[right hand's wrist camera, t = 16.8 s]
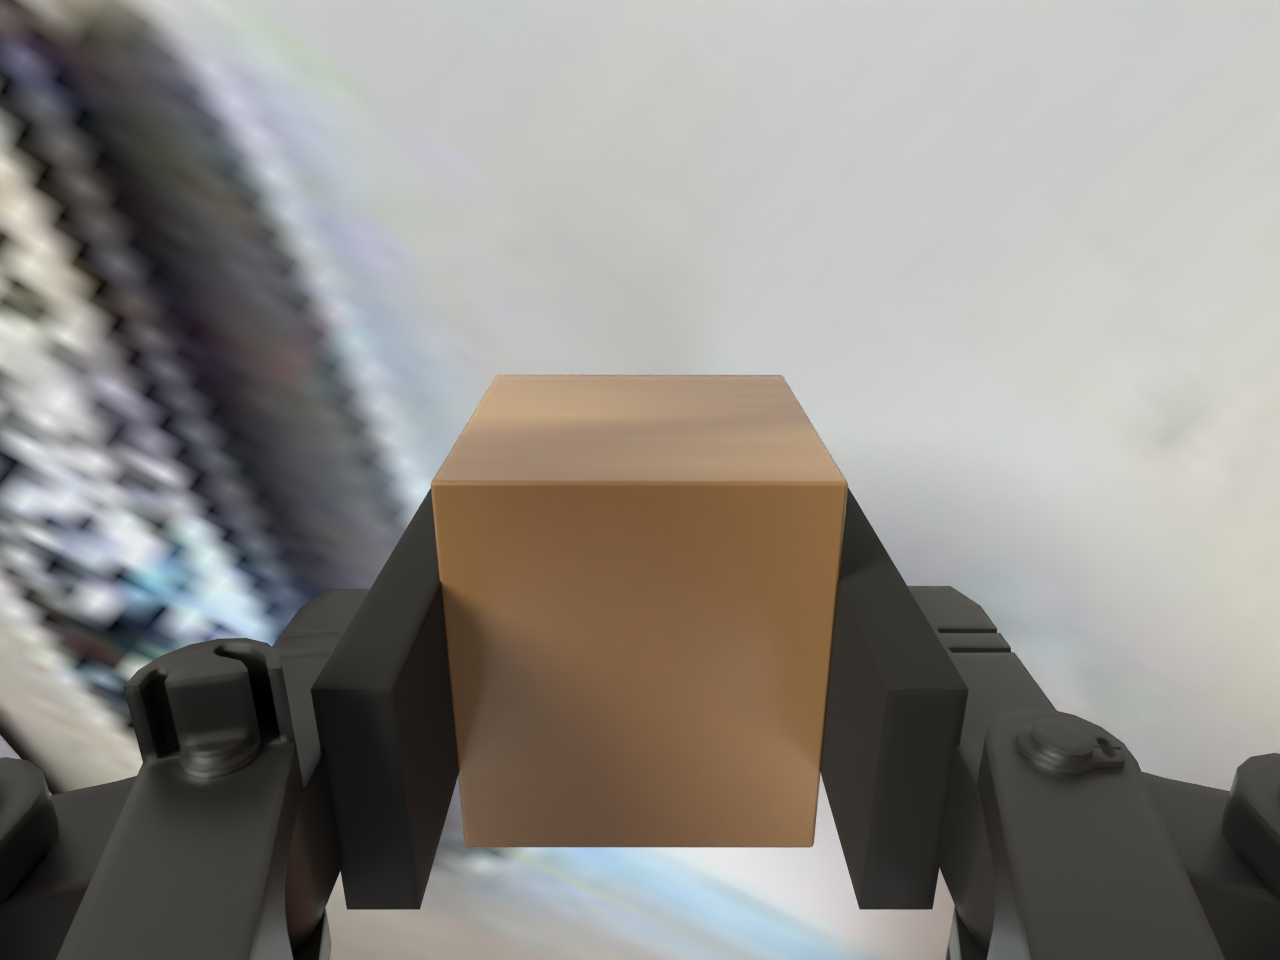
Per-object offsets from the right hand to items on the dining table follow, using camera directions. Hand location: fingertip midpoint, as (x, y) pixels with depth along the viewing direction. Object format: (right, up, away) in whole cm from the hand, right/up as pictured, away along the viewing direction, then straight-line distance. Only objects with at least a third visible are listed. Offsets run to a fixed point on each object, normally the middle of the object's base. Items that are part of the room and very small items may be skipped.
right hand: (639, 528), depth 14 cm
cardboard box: (0, 0, 0) cm, 0 cm away
